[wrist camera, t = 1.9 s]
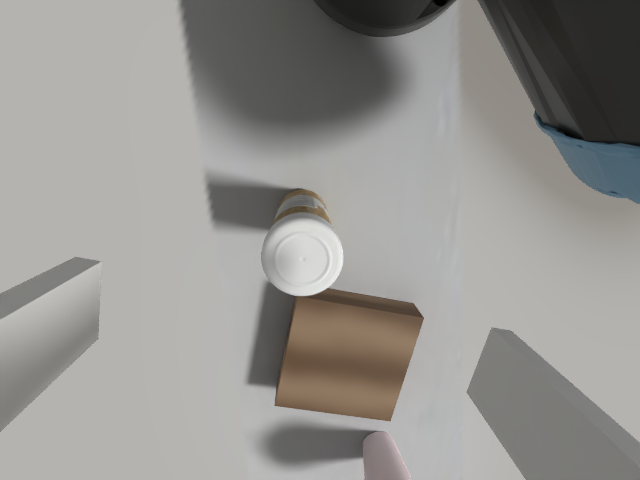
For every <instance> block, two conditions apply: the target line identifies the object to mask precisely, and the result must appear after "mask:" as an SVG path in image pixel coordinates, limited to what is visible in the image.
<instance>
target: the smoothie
mask: <svg viewBox="0 0 640 480" xmlns="http://www.w3.org/2000/svg"><path fill="white" fill-rule="evenodd" d="M363 461H364V476H365V480H412V478H411V476H410V474H409V472H408V470H407V468H406V465H405V463H404V461H403V459H402V457H401V455H400V453H399V451H398V448H397V446H396V444H395V442H394V440H393V438H392V436H391V435H390V434H388V433H386V432H381V431H378V432H373V433H371V434H369V435H368V436H367V437H366V438H365V439H364V441H363Z"/></svg>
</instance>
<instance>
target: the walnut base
mask: <svg viewBox="0 0 640 480" xmlns="http://www.w3.org/2000/svg"><path fill="white" fill-rule="evenodd" d="M423 319H424V317H423V316H422V315H421V313H420V312H419V310H418V309H417V308H416V306H415V305H414V303H408V302H402V301H396V300H391V299H385V298H379V297H374V296H368V295H362V294H356V293H351V292H345V291H339V290H334V289H328V288H327V289H325V290H323V291H322V292H319V293H317V294H314V295H309V296H295V301H294V306H293V310H292V315H291V320H290V325H289V329H288V334H287V339H286V344H285V348H284V353H283V358H282V363H281V367H280V372H279V377H278V382H277V388H276V398H275V406H280V407H288V408H295V409H303V410H310V411H317V412H325V413H332V414H340V415H347V416H355V417H362V418H370V419H377V420H385V421H391V418H392V415H393V411H394V408H395V405H396V402H397V399H398V396H399V393H400V390H401V387H402V384H403V381H404V378H405V375H406V372H407V368H408V365H409V362H410V359H411V356H412V353H413V350H414V347H415V344H416V341H417V338H418V335H419V332H420V329H421V325H422V322H423Z"/></svg>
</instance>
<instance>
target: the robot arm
mask: <svg viewBox="0 0 640 480" xmlns="http://www.w3.org/2000/svg"><path fill="white" fill-rule="evenodd" d="M314 1H315V2H316V3H317V4H318V5H319V6H320V8H321V9H322V10H323V11H324V12H325V13H327V14H328V15H329V16H330V17H331V18H333V19H334V20H335V21H337V22H338V23H340V24H342V25H343V26H345V27H347V28H349V29H351V30H354V31H356V32H359V33H362V34H366V35H372V36H396V35H402V34H406V33H409V32H412V31H415V30H417V29H419V28H421V27H423V26H425V25H427V24H429V23H430V22H432V21H433V20H435V19H436V18H437V17H439V16H440V15H441V14H442V13H443V12H445V11H446V10H447V9H448V8H449V7H450V6H451V5H452V4H453V3H454V2H455V1H456V0H314ZM478 2H479V4H480V6H481V8H482V9H483V11H484V13H485V15H486V17H487V19H488V21H489V22H490V24H491V27H492V29H493V30H494V32H495V34H496V36H497V38H498V40H499V42H500V44H501V46H502V47H503V49H504V51H505V53H506V55H507V57H508V59H509V60H510V63H511V64H512V67H513V68H514V70H515V72H516V74H517V76H518V78H519V80H520V82H521V84H522V85H523V87H524V89H525V91H526V93H527V95H528V97H529V99H530V101H531V102H532V105H533V107H534V108H535V113H534V118H535V121H536V123H537V125H538V127H539V128H540V129H541V130H542V131H543V132H544V133H546V134H547V135H549V136H550V137H551V138H552V140H553V141H554V143H555V145H556V147H557V148H558V150H559V151H560V153H561V155H562V156H563V158H564V160H565V161H566V163H567V164H568V166H569V168H570V169H571V171H572V172H573V173H574V174H575V175H576V176H577V177H578V178H579V179H580V180H581V181H582V182H583V183H585V184H586V185H588V186H589V187H591V188H593V189H595V190H596V191H598V192H601V193H603V194H606V195H609V196H613V197H617V198H628V199H629V200H632V201H633V202H635V203H638V204H640V0H478ZM101 263H102V262H101V261H96V260H90V259H84V258H79V257H75V258H72V259H70V260H68V261H66V262H64V263H62V264H60V265H58V266H56V267H54V268H52V269H50V270H48V271H46V272H44V273H42V274H40V275H38V276H36V277H34V278H31V279H30V280H27V281H25V282H23V283H21V284H20V285H17V286H15V287H13V288H11V289H9V290H7V291H5V292H3V293H1V294H0V432H1V431H2V430H3V429H4V428H5V427H6V426H7V425H8V424H9V423H10V422H11V421H12V420H13V419H14V418H15V417H16V416H17V415H18V414H19V413H21V412H22V411H23V409H25V408H26V407H27V406H28V405H29V404H30V403H31V402H32V401H33V400H34V399H35V398H36V397H37V396H38V395H39V394H40V393H42V392H43V390H45V389H46V388H47V387H48V386H49V385H50V384H51V383H52V382H53V381H54V380H55V379H56V378H57V377H59V376H60V374H61V373H63V372H64V371H65V370H66V369H67V368H68V367H69V366H70V365H71V364H72V363H73V362H74V361H75V360H76V359H77V358H78V357H80V356H81V355H82V354H83V353H84V352H85V351H86V350H87V349H88V348H89V347H90V346H91V345H92V344H93V343H94V342H95V341H96V340H97V339H98V332H99V309H100V285H101ZM467 393H468V395H469V396H470V398H471V399H472V401H473V402H474V404H475V405H476V407H477V408H478V410H479V411H480V413H481V414H482V416H483V417H484V419H485V420H486V422H487V423H488V425H489V426H490V427H491V429H492V430H493V432H494V433H495V435H496V436H497V438H498V439H499V441H500V442H501V444H502V445H503V447H504V448H505V449H506V451H507V452H508V454H509V455H510V457H511V458H512V460H513V461H514V463H515V464H516V466H517V467H518V469H519V470H520V472H521V473H522V475H523V476H524V478H525V479H526V480H640V443H639V442H638V441H637V440H636V439H635V438H634V437H633V436H631V435H630V434H629V433H628V432H627V431H626V430H625V429H623V428H622V427H621V426H620V425H619V424H618V423H616V422H615V421H614V420H613V419H612V418H611V417H610V416H608V415H607V414H606V413H605V412H604V411H602V410H601V409H600V408H599V407H598V406H597V405H596V404H595V403H594V402H592V401H591V400H590V399H589V398H588V397H586V396H585V395H584V394H583V393H582V392H581V391H580V390H579V389H577V388H576V387H575V386H574V385H573V384H572V383H571V382H569V381H568V380H567V379H566V378H565V377H564V376H562V375H561V374H560V373H559V372H558V371H557V370H556V369H555V368H553V367H552V366H551V365H550V364H549V363H548V362H546V361H545V360H544V359H543V358H542V357H541V356H539V355H538V354H537V353H536V352H535V351H534V350H533V349H531V348H530V347H529V346H528V345H527V344H526V343H525V342H523V341H522V340H521V339H520V338H519V337H518V336H517V335H516V334H514V333H513V332H512V331H509V330H503V329H498V328H491V330H490V333H489V335H488V338H487V341H486V343H485V346H484V348H483V351H482V353H481V356H480V359H479V361H478V364H477V367H476V369H475V372H474V374H473V377H472V380H471V382H470V385H469V387H468V390H467Z"/></svg>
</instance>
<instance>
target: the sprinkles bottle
mask: <svg viewBox="0 0 640 480" xmlns="http://www.w3.org/2000/svg"><path fill="white" fill-rule="evenodd" d="M261 261H262V267H263V270H264V272H265V274H266V276H267V278H268V279H269V281H270V282H271V283H272V284H273V285H274V286H275V287H276V288H278V289H279V290H281V291H283V292H285V293H287V294H290V295H294V296H309V295H314V294H317V293H319V292H322V291H323V290H325V289H327V288H328V287H329V286H330V285H331V284H332V283H333V282H334V281H335V280H336V278H337V277H338V275H339V273H340V271H341V268H342V265H343V248H342V245H341V242H340V239H339V236H338V234H337V232H336V231H335V229H334V228H333V226H332V224H331V222H330V218H329V216H328V213H327V210H326V207H325V204H324V202H323V200H322V199H321V198H320V197H319V196H318V195H317V194H315V193H314V192H312V191H309V190H304V189H302V190H295V191H292V192H290V193H289V194H287V195H286V196H285V197H284V198H283V200H282V201H281V203H280V205H279V208H278V212H277V214H276V217H275V219H274V222H273V225H272V227H271V229H270V230H269V232H268V233H267V235H266V238H265V240H264V243H263V247H262V252H261Z"/></svg>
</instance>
